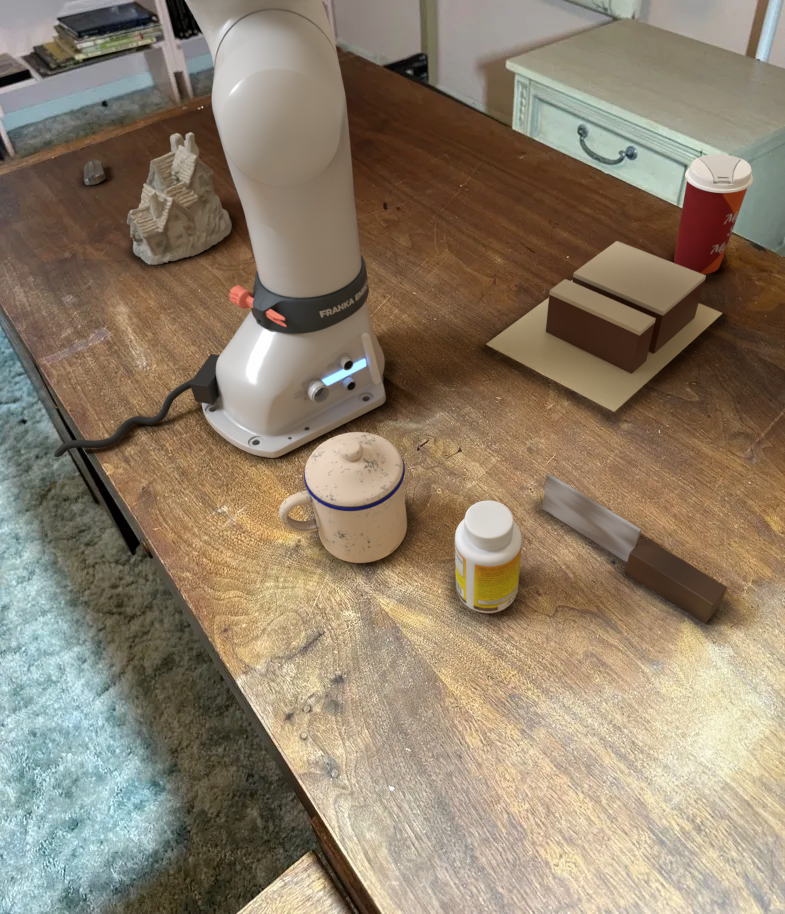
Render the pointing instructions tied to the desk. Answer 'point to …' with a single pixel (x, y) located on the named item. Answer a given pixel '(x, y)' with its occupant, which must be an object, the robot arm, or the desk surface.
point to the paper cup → (710, 210)
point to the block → (93, 172)
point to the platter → (589, 357)
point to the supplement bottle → (487, 557)
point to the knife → (635, 551)
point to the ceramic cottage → (177, 207)
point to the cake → (645, 287)
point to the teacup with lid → (353, 497)
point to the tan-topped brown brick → (599, 325)
